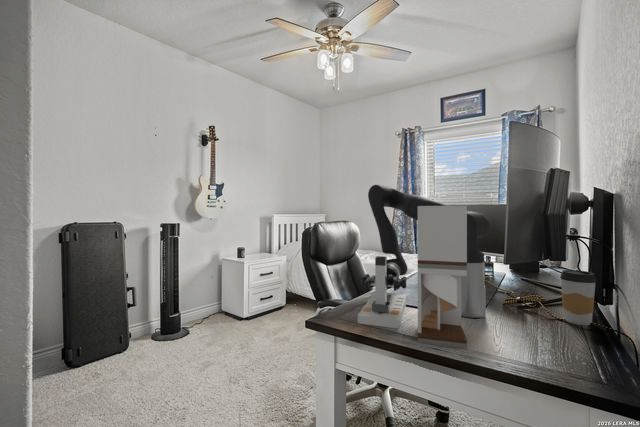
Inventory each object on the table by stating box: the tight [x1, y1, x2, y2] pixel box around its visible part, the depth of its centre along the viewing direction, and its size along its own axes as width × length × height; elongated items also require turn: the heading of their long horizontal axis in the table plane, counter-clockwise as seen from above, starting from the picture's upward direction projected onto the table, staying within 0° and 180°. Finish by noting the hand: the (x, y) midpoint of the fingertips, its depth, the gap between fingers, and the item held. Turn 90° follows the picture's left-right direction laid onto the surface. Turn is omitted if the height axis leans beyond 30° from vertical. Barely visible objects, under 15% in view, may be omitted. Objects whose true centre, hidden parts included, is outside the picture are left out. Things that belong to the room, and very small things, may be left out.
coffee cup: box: [560, 269, 597, 326], centre depth 91 cm, size 8×8×15 cm
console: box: [357, 291, 408, 330], centre depth 102 cm, size 12×28×3 cm, turn 159°
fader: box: [372, 255, 390, 312], centre depth 94 cm, size 5×4×16 cm
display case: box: [417, 205, 468, 349], centre depth 81 cm, size 11×11×35 cm
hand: (380, 286), depth 94 cm, fingers open, 8 cm apart
